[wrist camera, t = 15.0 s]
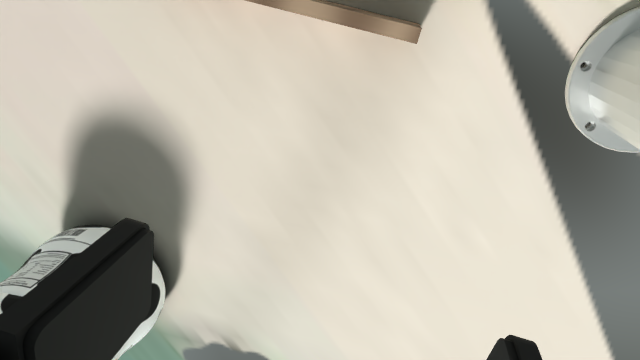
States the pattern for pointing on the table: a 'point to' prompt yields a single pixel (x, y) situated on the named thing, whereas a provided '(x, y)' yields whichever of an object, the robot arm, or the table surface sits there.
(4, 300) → the milk container
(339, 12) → the angular wooden frame
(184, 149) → the table surface
